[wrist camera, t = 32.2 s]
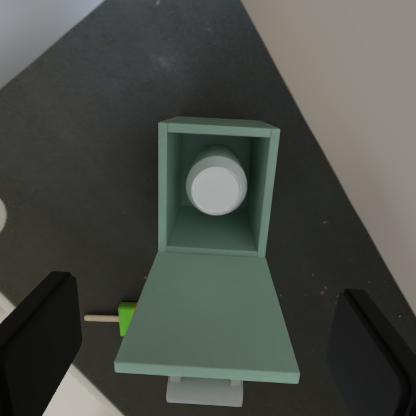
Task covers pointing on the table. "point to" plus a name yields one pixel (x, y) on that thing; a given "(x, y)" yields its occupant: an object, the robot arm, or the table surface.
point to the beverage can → (216, 181)
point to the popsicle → (124, 316)
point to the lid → (208, 328)
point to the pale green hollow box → (201, 222)
